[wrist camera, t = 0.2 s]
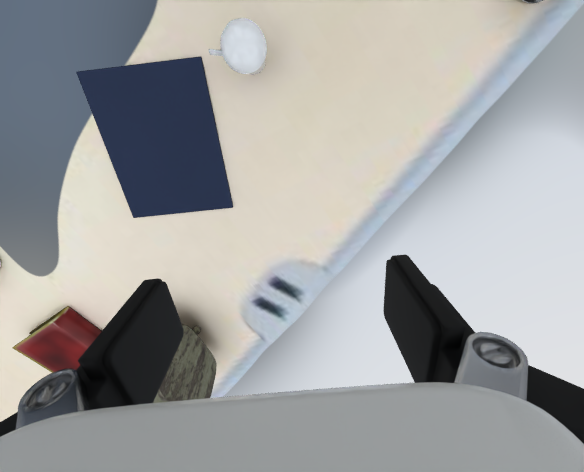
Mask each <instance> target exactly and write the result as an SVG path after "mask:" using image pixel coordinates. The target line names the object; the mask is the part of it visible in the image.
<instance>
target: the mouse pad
mask: <svg viewBox="0 0 584 472" xmlns="http://www.w3.org/2000/svg"><path fill="white" fill-rule="evenodd" d="M77 75H78V78H79V80H80V83H81V85H82V88H83V90H84V93H85V95H86V98H87V101H88V103H89V105H90V108H91V111H92V113H93V116H94V118H95V121H96V123H97V126H98V129H99V131H100V134H101V136H102V139H103V141H104V144H105V146H106V149H107V151H108V154H109V156H110V159H111V162H112V164H113V167H114V169H115V172H116V174H117V177H118V179H119V182H120V184H121V187H122V190H123V192H124V195H125V197H126V200H127V202H128V205H129V207H130V210H131V212H132V215H133V217H134V218H137V217H146V216H156V215H166V214H175V213H185V212H194V211H204V210H214V209H223V208H233V204H232V199H231V194H230V190H229V185H228V180H227V176H226V171H225V166H224V161H223V157H222V152H221V147H220V143H219V138H218V133H217V128H216V124H215V119H214V114H213V110H212V105H211V100H210V95H209V91H208V86H207V81H206V77H205V72H204V67H203V62H202V58H201V57H194V58H185V59H177V60H169V61H161V62H153V63H145V64H136V65H128V66H121V67H112V68H104V69H96V70H87V71H80V72H77Z"/></svg>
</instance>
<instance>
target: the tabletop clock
mask: <svg viewBox="0 0 584 472" xmlns="http://www.w3.org/2000/svg"><path fill="white" fill-rule="evenodd" d="M182 326H183V329H184V334H183V338H182V340H181V342H180V345H179V347H178V349H177V351H176V353H175V356H174V358H173V360H172V362H171V364H170V367H169V369H168V371H167V373H166V375H165V378H164V380H163V382H162V384H161V386H160V388H159V391H158V393H157V395H156V397H155V399H154V402H153V403H161V402H172V401H183V400H194V399H206V398H210V396H211V393H212V389H213V384H214V380H215V375H216V361H215V358H214V357H213V355H212V353H211V352H210V351H209V349H208V348H207V347H206V345H205V344H204V343H203V341H202V340H201V339H200V338H199V337H198V336H197V335H198V334H199V333H200V331H201V329H200V327H198V326H195V327H194V328H193V329H191V328H189V327H188V326H186V325H184V324H182Z"/></svg>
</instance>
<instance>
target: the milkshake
mask: <svg viewBox="0 0 584 472" xmlns="http://www.w3.org/2000/svg"><path fill="white" fill-rule="evenodd" d="M209 53H210V55H218V56H223V57H224V59H225V61H226V63H227V64H228V65H229V66H230V67H231V68H232V69H233V70H235V71H236V72H239V73H242V74H250V75H254V74H258V73H261V71H262V70H263V68H264V67H265V59H266V53H267V44H266V40H265V36H264V34H263V32H262V30H261V29H260V28H259V26H258V25H257V24H256V23H254V22H253V21H252V20H250V19H247V18H238V19H234V20H232V21H230V22H229V23H228V24H227V26H226V27H225V29H224V31H223V33H222V35H221V50H214V49H209Z"/></svg>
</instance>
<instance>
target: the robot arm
mask: <svg viewBox="0 0 584 472" xmlns="http://www.w3.org/2000/svg"><path fill="white" fill-rule="evenodd" d="M384 316H385V319H386V321H387V323H388V325H389V328H390V330H391V332H392V334H393V336H394V339H395V340H396V343H397V345H398V347H399V349H400V351H401V354H402V356H403V357H404V360H405V362H406V364H407V366H408V369H409V371H410V373H411V375H412V377H413V379H414V382H415V383H401V384H384V385H367V386H354V387H342V388H330V389H316V390H304V391H290V392H278V393H265V394H253V395H242V396H229V397H217V398H206V399H194V400H183V401H172V402H161V403H153V402H154V399H155V397H156V395H157V393H158V391H159V388H160V386H161V384H162V382H163V380H164V378H165V375H166V373H167V371H168V369H169V367H170V364H171V362H172V360H173V358H174V356H175V353H176V351H177V349H178V347H179V345H180V342H181V340H182V338H183V334H184V329H183V326H182V324H181V321H180V318H179V316H178V313H177V310H176V308H175V305H174V302H173V300H172V297H171V295H170V292H169V289H168V287H167V284H166V283H165V282H162V280H161V279H150V280H144V281H143V282H142V284H141V285H140V286H139V287H138V288H137V290H136V291H135V292H134V293H133V294H132V296H131V297H130V298H129V299H128V300H127V302H126V303H125V304H124V305H123V306H122V308H121V309H120V310H119V311H118V312H117V314H116V315H115V316H114V317H113V318H112V320H111V321H110V322H109V323H108V325H107V326H106V327H105V328H104V329H103V331H102V332H101V333H100V334H99V335H98V337H97V338H96V339H95V340H94V341H93V343H92V344H91V345H90V346H89V347H88V349H87V350H86V351H85V352H84V353H83V355H82V356H81V357H80V358H79V359H78V362H79V364H80V366H79V367H78V368H77V370H75V369H72V368H66V369H62V370H58V371H56V372H53V373H51V374H49V375H47V376H46V377H44V378H42V379H41V380H39V381H38V382H37V383H35V384H34V385H33V386H32V387H31V388H30V389H29V390H28V391H27V392H26V393H25V394H24V396H23V397H22V398H21V400H20V403H19V406H18V412H17V413H15V414H14V415H12V416H10V417H9V418H7V419H5V420H3V421H2V422H0V472H584V389H583V388H581V387H578V386H576V385H574V384H571V383H569V382H567V381H564V380H562V379H560V378H557V377H555V376H552V375H550V374H548V373H546V372H543V371H541V370H539V369H536V368H534V367H532V366H529V365H528V360H527V357H526V355H525V354H524V352H523V351H522V350H521V349H520V348H519V347H518V346H517V345H516V344H515V343H513V342H511V341H510V340H508V339H506V338H504V337H502V336H499V335H496V334H492V333H487V332H478V333H475V332H474V331H473V330H472V328H471V327H470V326H469V325H468V324H467V322H466V321H465V320H464V319H463V318H462V316H461V315H460V314H459V313H458V312H457V310H456V309H455V308H454V307H453V306H452V304H451V303H450V302H449V301H448V300H447V298H446V297H445V296H444V295H443V294H442V293H441V291H440V290H439V289H438V288H437V287H436V286H435V285H433V284H430V283H429V281H428V280H427V279H426V277H425V276H424V275H423V274H422V273H421V271H420V270H419V269H418V268H417V266H416V265H415V264H414V263H413V261H412V260H411V259H410V258H409V257H408V256H407V255H397V256H392V257H391V260H387V263H386V280H385V296H384Z"/></svg>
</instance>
